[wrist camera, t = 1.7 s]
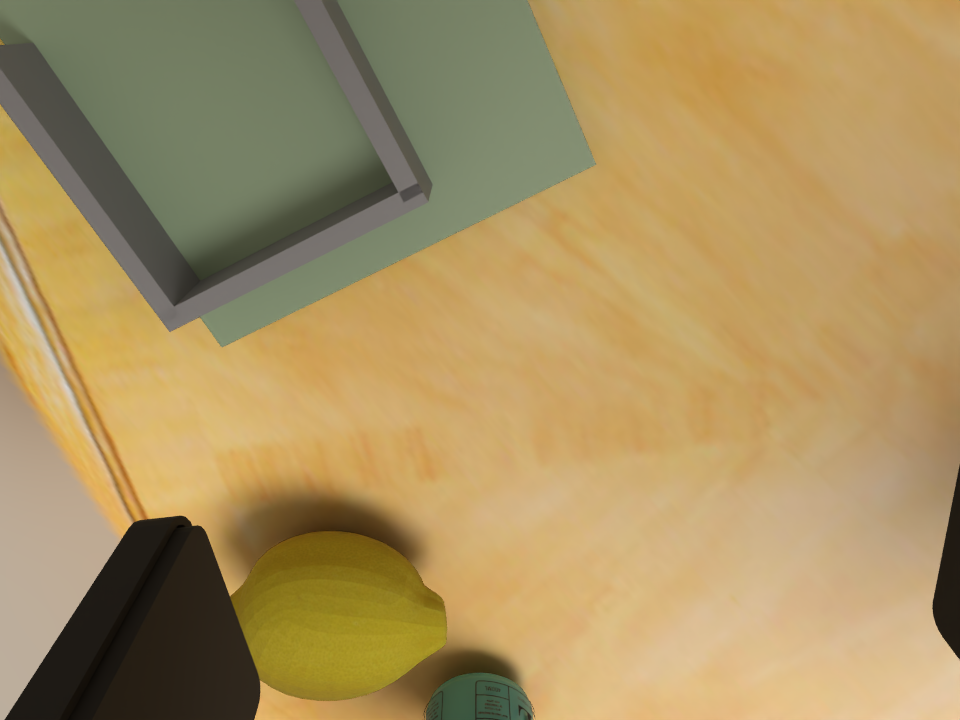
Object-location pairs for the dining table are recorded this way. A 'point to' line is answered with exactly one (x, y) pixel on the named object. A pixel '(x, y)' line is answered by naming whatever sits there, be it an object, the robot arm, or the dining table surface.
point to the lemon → (337, 616)
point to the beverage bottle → (479, 699)
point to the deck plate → (283, 136)
